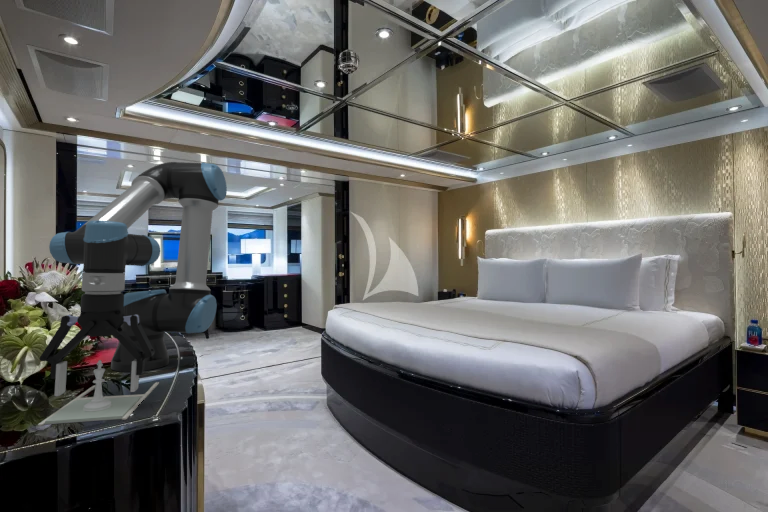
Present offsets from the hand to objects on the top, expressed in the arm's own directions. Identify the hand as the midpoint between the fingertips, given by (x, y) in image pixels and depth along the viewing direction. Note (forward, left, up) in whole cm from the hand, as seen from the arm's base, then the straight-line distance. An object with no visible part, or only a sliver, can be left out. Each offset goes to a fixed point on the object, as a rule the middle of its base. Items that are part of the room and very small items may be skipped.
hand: (98, 392), depth 83 cm
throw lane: (-6, 0, -4) cm, 7 cm away
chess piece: (0, 0, -4) cm, 4 cm away
